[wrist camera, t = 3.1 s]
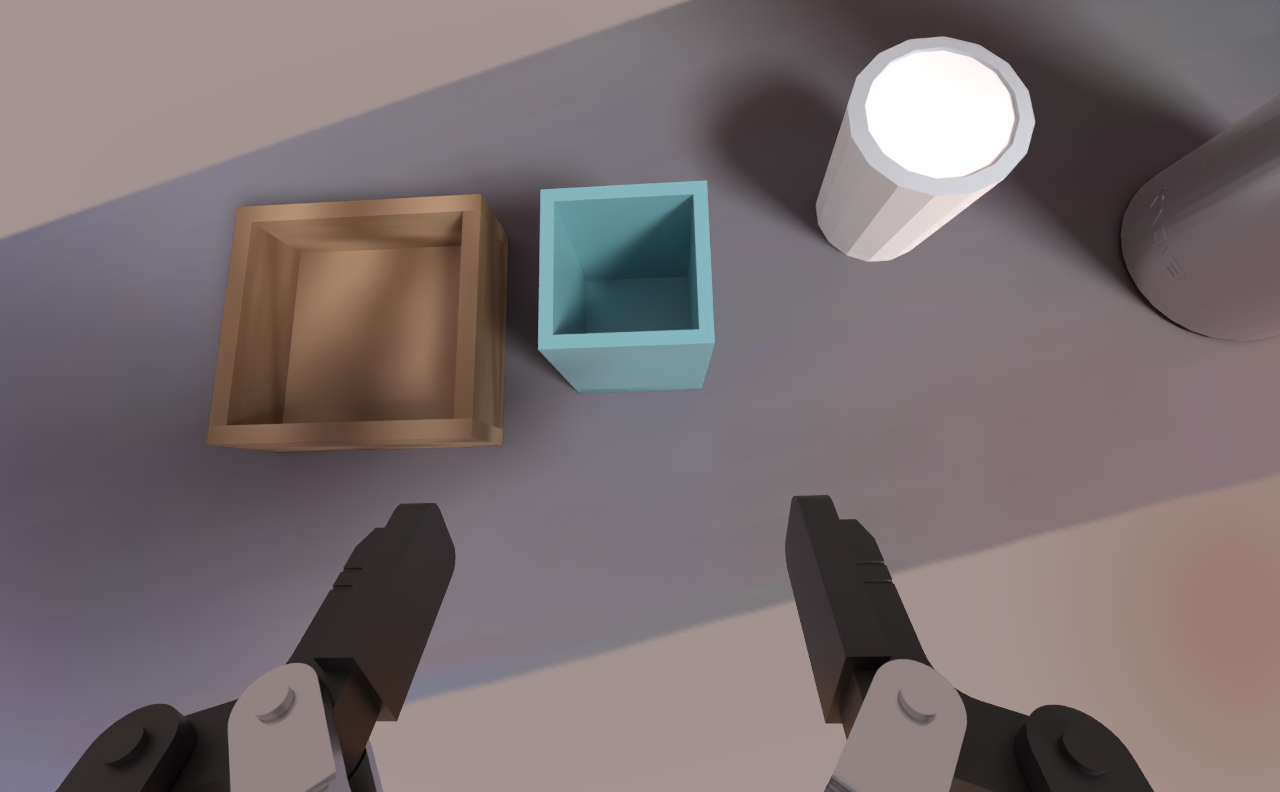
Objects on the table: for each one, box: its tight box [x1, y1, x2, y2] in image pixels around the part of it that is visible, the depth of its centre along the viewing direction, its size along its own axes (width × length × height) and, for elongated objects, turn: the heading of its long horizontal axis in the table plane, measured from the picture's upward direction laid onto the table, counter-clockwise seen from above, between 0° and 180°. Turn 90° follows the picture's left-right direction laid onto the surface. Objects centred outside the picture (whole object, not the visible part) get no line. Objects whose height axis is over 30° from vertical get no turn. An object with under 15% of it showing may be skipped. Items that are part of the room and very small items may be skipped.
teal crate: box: [538, 181, 715, 393], centre depth 22 cm, size 6×6×8 cm
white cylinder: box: [816, 36, 1035, 262], centre depth 23 cm, size 7×7×7 cm
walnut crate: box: [206, 194, 508, 452], centre depth 25 cm, size 12×11×4 cm
